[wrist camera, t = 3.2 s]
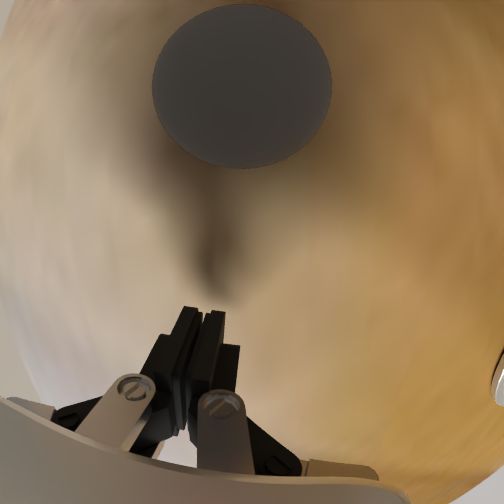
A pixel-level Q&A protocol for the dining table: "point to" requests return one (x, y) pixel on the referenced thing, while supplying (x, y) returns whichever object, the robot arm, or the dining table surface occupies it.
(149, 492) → the robot arm
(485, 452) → the dining table surface
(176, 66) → the dark grey ball
